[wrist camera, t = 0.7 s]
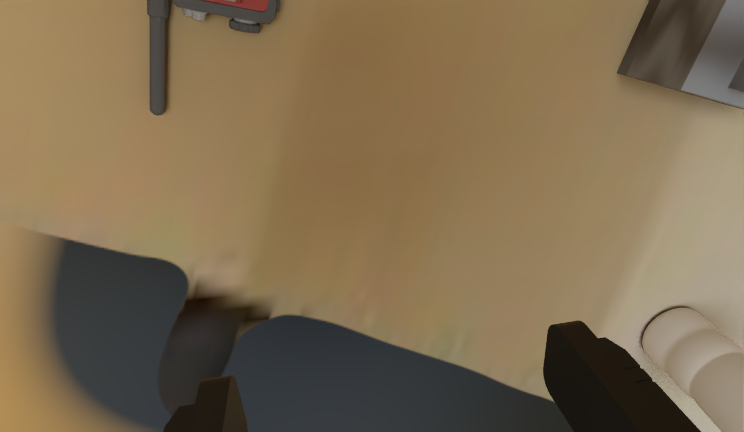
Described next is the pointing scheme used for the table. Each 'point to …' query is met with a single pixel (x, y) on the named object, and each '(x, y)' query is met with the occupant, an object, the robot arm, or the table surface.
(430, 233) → the table surface
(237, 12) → the grey and red block
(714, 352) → the water bottle
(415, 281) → the table surface
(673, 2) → the door and jamb
